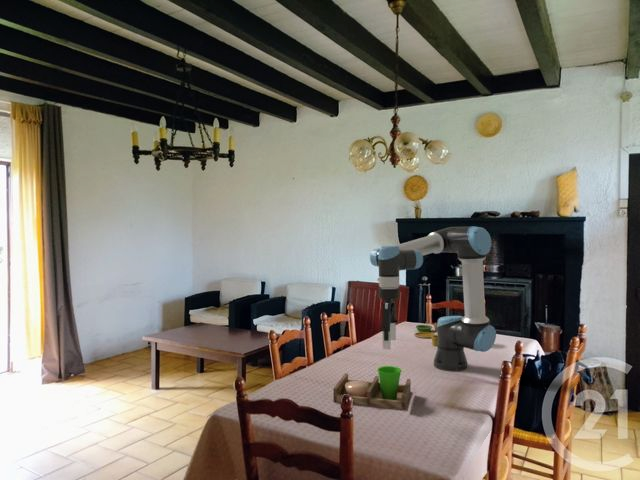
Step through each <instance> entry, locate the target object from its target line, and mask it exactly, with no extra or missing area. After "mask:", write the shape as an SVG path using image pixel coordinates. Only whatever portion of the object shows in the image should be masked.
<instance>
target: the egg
mask: <svg viewBox="0 0 640 480" xmlns="http://www.w3.org/2000/svg"><path fill="white" fill-rule="evenodd" d="M363 381H364V380H356V381H350V382H347V383H346V384H345V394H349V395H350V396H358V397H367V391H368V389H369V384H368V383H366V382H363Z"/></svg>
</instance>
